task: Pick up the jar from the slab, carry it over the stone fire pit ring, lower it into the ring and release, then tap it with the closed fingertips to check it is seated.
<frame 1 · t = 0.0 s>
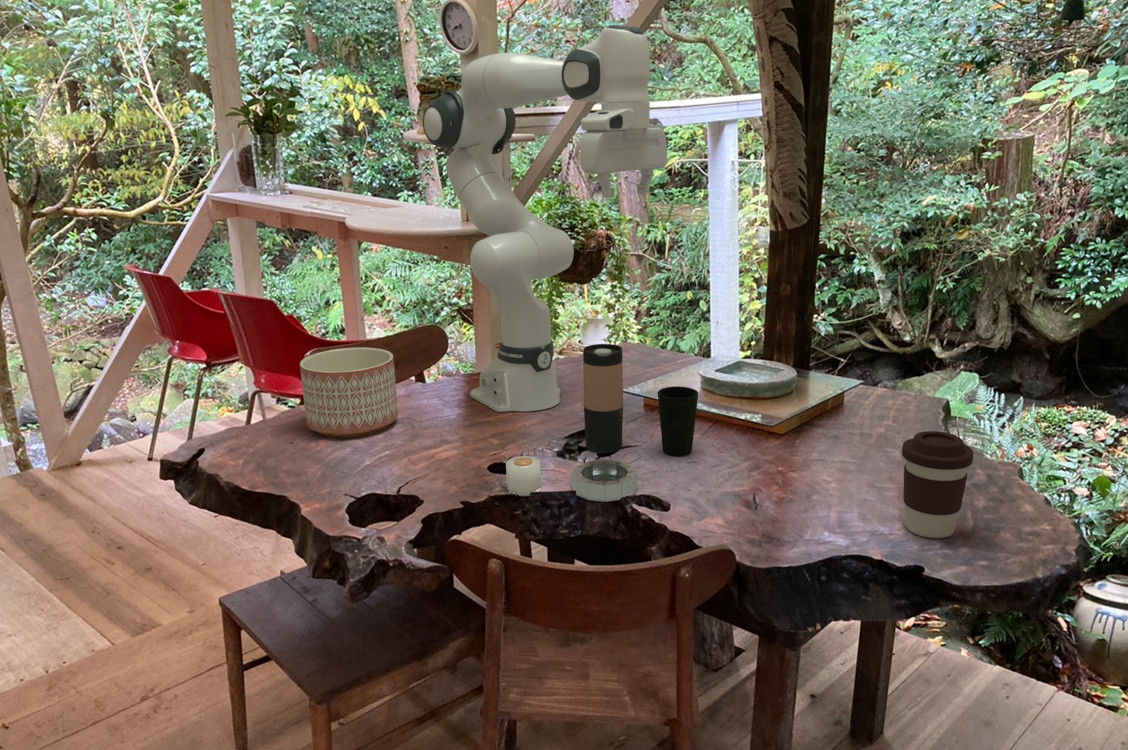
hand: (625, 195, 165), 48 cm above the table, fingers open, 8 cm apart
travel mug: (603, 447, 172), on the table
planter: (353, 426, 188), on the table
jar: (524, 489, 154), on the table
stone fire pit ring: (604, 487, 153), on the table
coffee cup: (929, 529, 136), on the table
cup: (677, 452, 169), on the table
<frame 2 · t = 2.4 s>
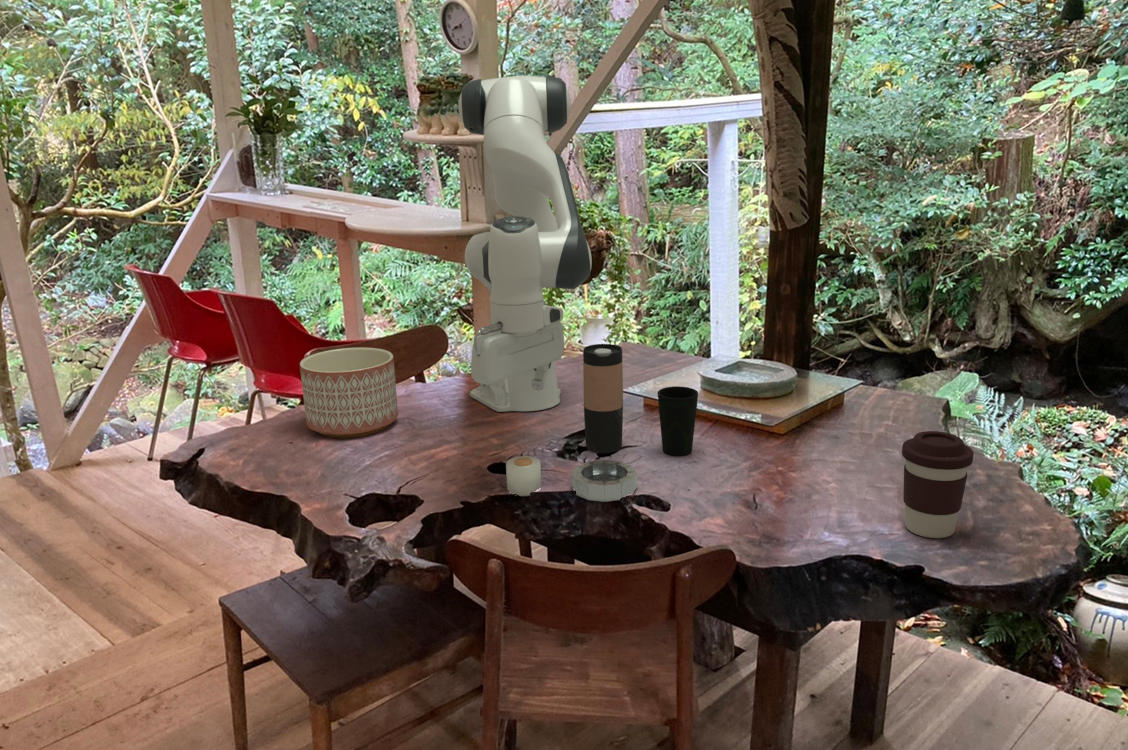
hand: (520, 396, 149), 17 cm above the table, fingers open, 8 cm apart
nothing on the table moved.
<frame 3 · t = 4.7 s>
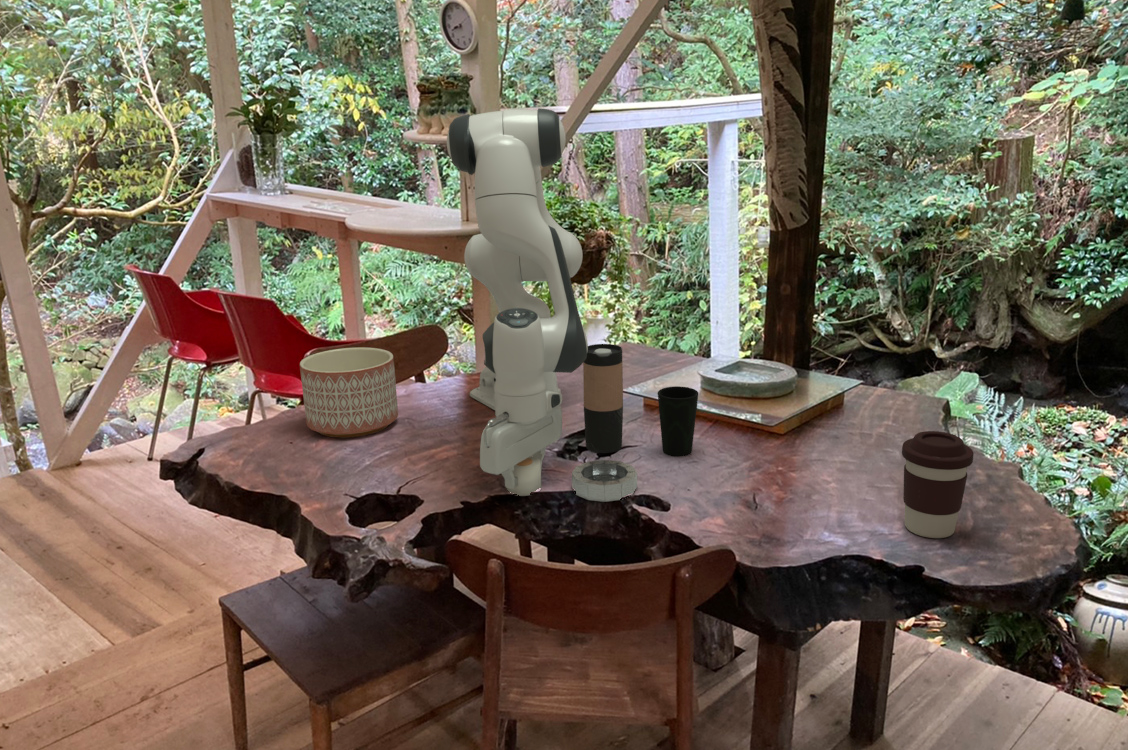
hand: (523, 479, 154), 2 cm above the table, fingers closed on jar, 6 cm apart
jar: (524, 488, 154), on the table, touching gripper
everything else where it was.
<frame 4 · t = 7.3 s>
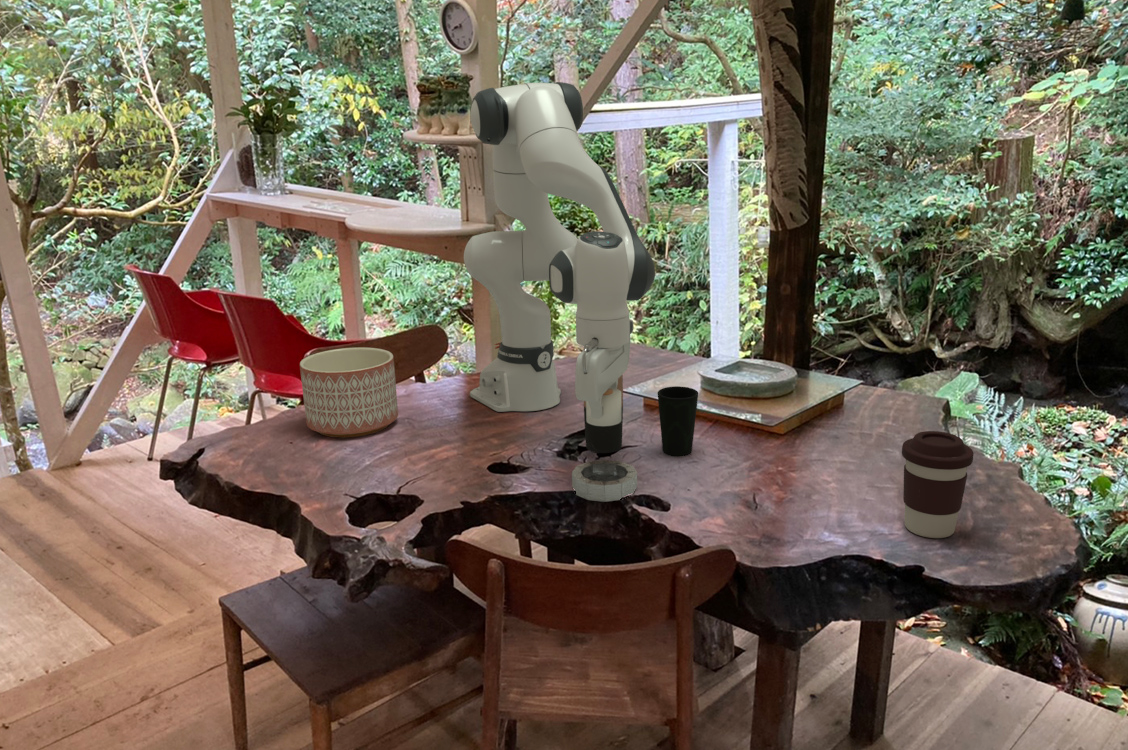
hand: (603, 410, 149), 14 cm above the table, fingers closed on jar, 6 cm apart
jar: (603, 420, 150), point 13 cm above the table, touching gripper
everything else where it was.
when the fingers open (4 cm above the table, at t = 9.9 s): jar drops 2 cm, resting on stone fire pit ring.
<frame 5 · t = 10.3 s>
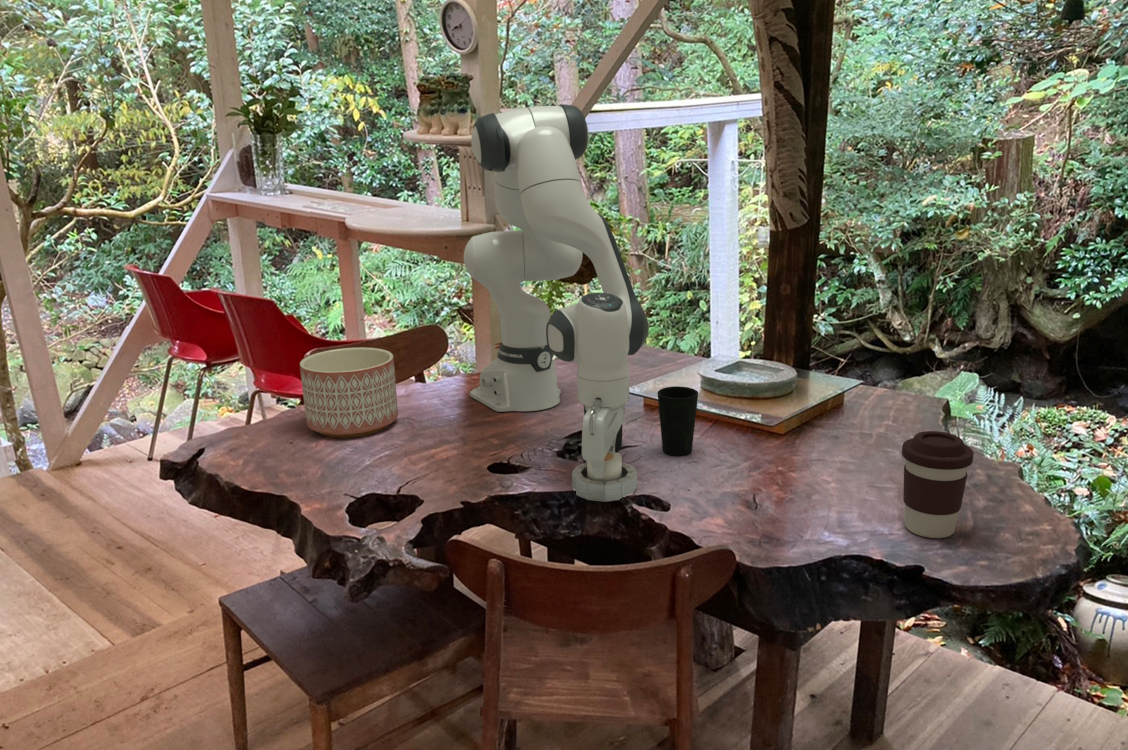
hand: (604, 465, 152), 4 cm above the table, fingers open, 8 cm apart
jar: (604, 483, 153), point 1 cm above the table, touching stone fire pit ring
everything else where it was.
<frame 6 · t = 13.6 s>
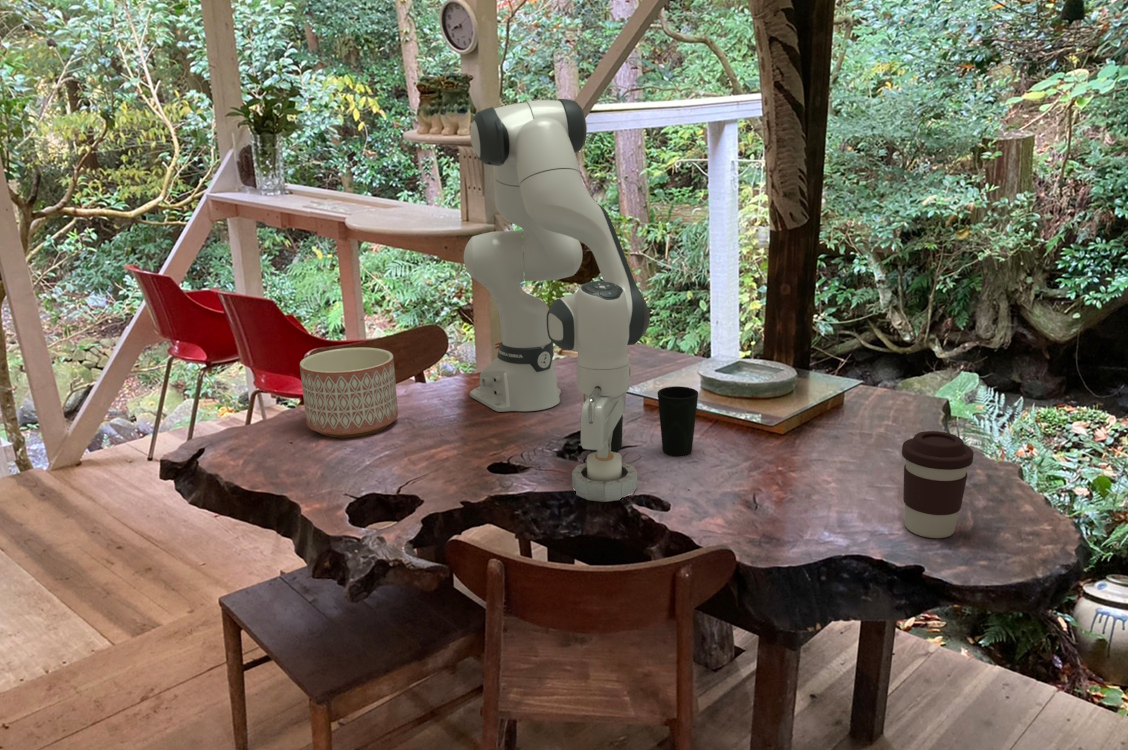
hand: (604, 455, 152), 6 cm above the table, fingers closed, pressing on jar
jar: (604, 483, 153), point 1 cm above the table, touching stone fire pit ring, gripper
everything else where it was.
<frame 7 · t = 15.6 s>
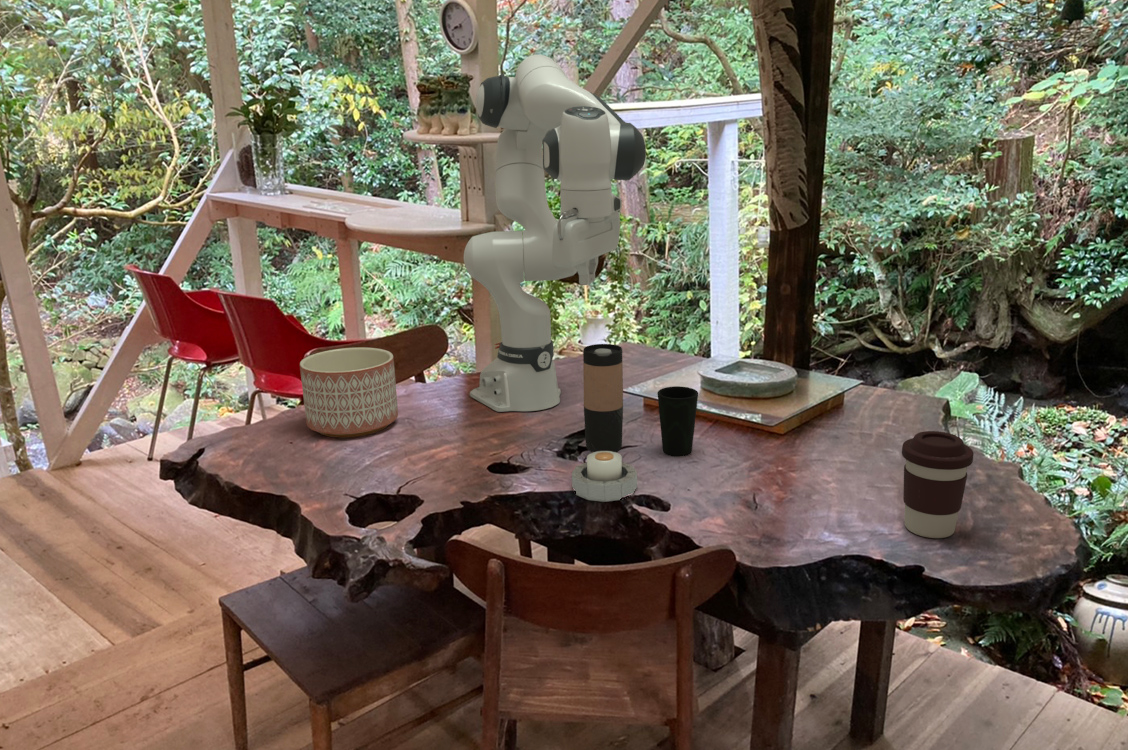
hand: (587, 283, 156), 34 cm above the table, fingers closed
jar: (604, 483, 153), point 1 cm above the table, touching stone fire pit ring
everything else where it was.
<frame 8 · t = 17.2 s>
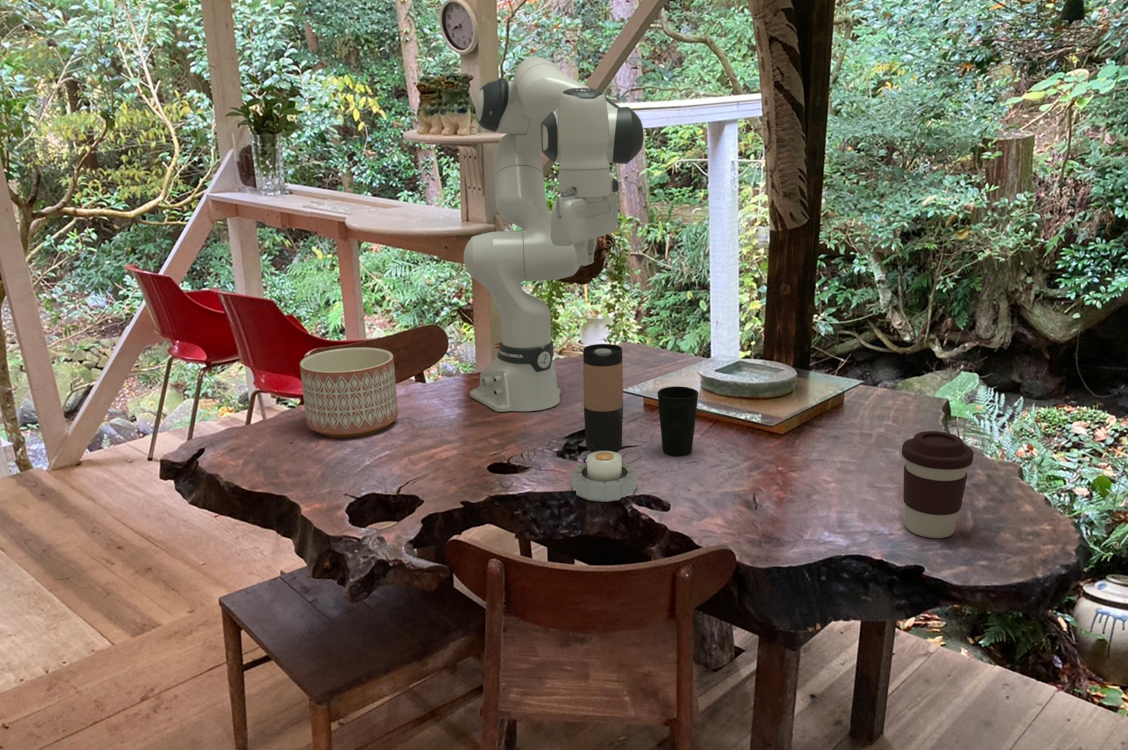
hand: (585, 264, 156), 37 cm above the table, fingers closed
nothing on the table moved.
at the end: jar 0.0 cm off-centre on the stone fire pit ring, point 0.8 cm above the stone fire pit ring's base; jar tilted 0°; the gripper is holding nothing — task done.
